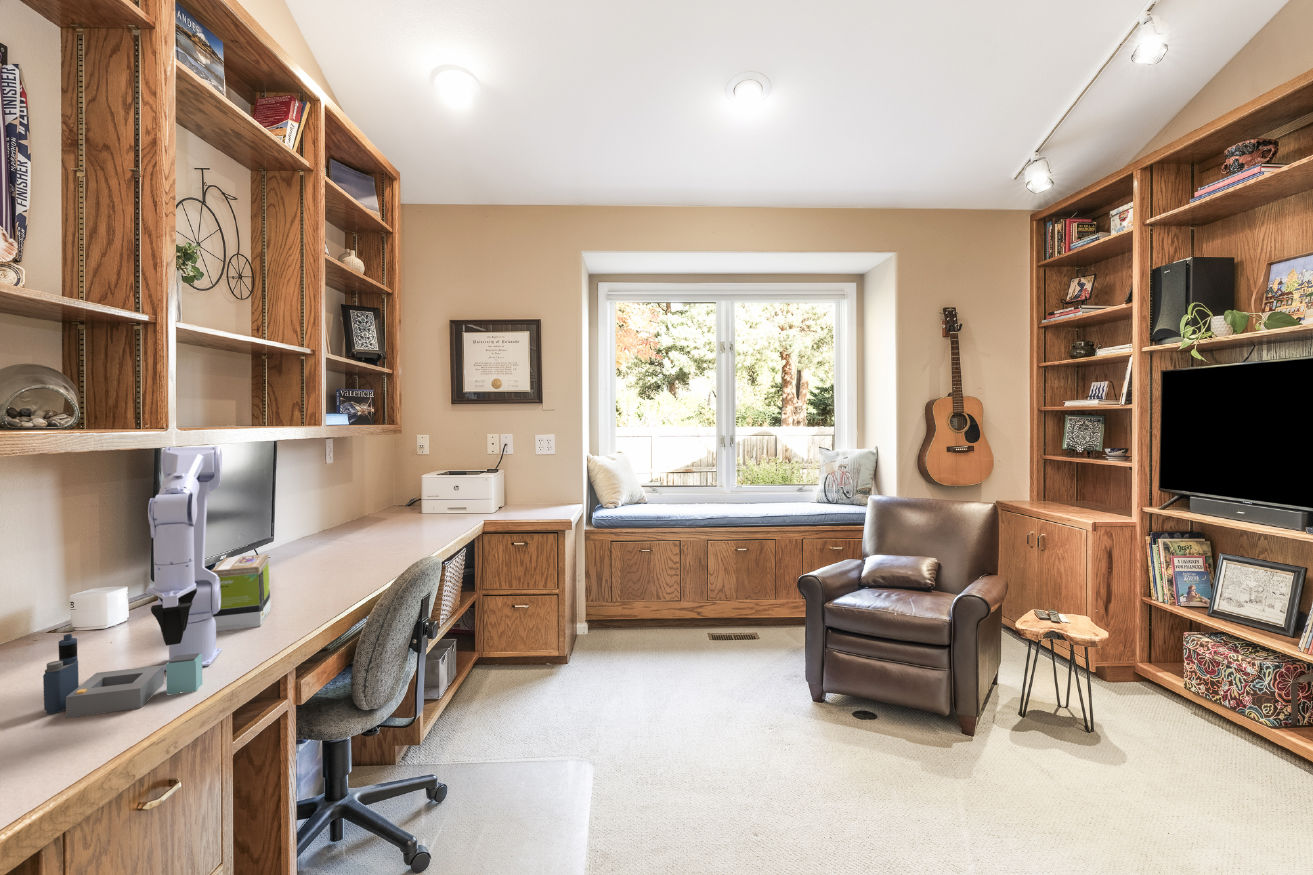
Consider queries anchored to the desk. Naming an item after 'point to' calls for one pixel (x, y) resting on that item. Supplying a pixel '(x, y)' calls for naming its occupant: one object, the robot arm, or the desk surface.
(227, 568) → the tea box
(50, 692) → the vaping device
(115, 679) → the socket
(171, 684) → the plug
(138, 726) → the desk surface
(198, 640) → the robot arm
